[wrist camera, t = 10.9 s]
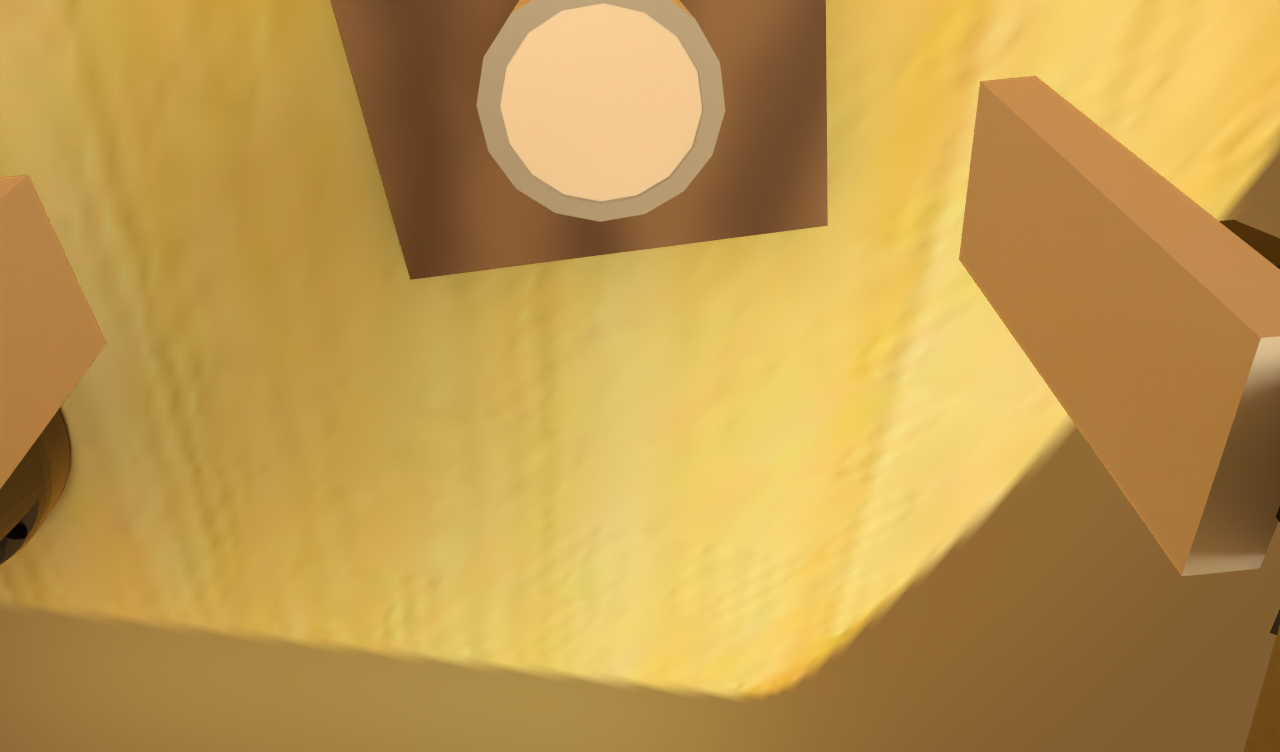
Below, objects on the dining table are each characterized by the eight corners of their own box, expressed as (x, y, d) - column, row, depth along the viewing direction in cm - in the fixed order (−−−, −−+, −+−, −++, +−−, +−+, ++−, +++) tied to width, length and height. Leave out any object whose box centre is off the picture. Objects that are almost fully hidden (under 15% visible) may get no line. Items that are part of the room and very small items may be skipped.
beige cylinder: (647, 166, 35) (661, 256, 30) (465, 90, 33) (442, 170, 28) (736, -17, 32) (771, 44, 26) (539, -113, 30) (529, -70, 24)
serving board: (415, 261, 39) (410, 279, 37) (285, -206, 30) (272, -202, 28) (819, 208, 38) (827, 225, 37) (812, -281, 29) (823, -281, 28)
